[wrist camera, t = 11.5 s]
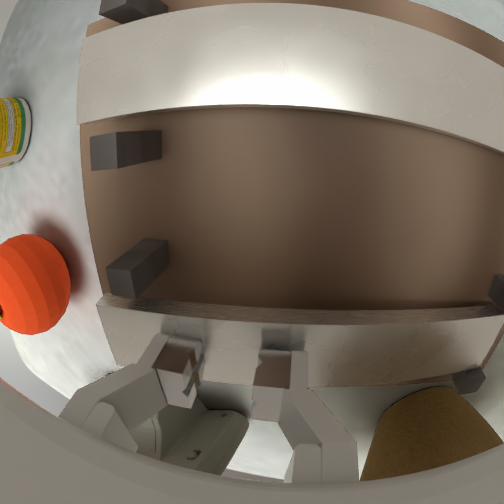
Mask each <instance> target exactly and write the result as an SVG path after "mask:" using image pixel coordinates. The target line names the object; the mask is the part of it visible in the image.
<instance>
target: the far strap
mask: <svg viewBox="0 0 504 504" xmlns="http://www.w3.org/2000/svg"><path fill="white" fill-rule="evenodd" d="M96 307H97V310H98V313H99V316H100V319H101V322H102V325H103V328H104V331H105V334H106V337H107V340H108V343H109V345H110V348H111V351H112V353H113V356H114V359H115V361H116V364H117V365H121V366H128V365H130V364H132V363H134V364H137V362H138V360H139V359H140V357H141V356H142V354H143V353H144V351H145V350H146V348H147V346H148V345H149V343H150V342H151V340H152V339H153V337H154V336H155V335H156V334H157V333H162V334H166V335H171V336H172V335H173V336H177V337H183V338H188V339H193V340H199V341H200V342H201V345H202V351H201V354H200V355H201V357H202V358H203V359H204V373H203V378H202V380H204V381H212V382H221V383H231V384H242V385H253V382H254V376H255V371H256V368H257V367H258V355H259V350H260V348H264V349H276V350H290V351H307V352H308V387H340V386H359V385H372V384H383V383H393V382H401V381H409V380H416V379H423V378H429V377H435V376H440V375H446V374H451V373H455V372H460V371H465V370H469V369H473V368H477V367H480V365H481V364H482V362H483V360H484V359H485V357H486V355H487V354H488V352H489V350H490V348H491V346H492V345H493V343H494V341H495V339H496V337H497V335H498V333H499V331H500V329H501V327H502V325H503V323H504V314H503V312H502V311H501V310H500V309H499V307H498V306H497V305H485V306H473V307H458V308H439V309H414V310H309V309H281V308H261V307H244V306H229V305H216V304H204V303H192V302H181V301H171V300H162V299H153V298H144V297H138V298H137V299H136V300H134V299H129V298H124V297H119V296H115V295H112V294H111V293H106V294H105V295H104V296H103V297H102V298H101V299H100V300H99V301H98V302H97V303H96Z"/></svg>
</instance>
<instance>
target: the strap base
mask: <svg viewBox="0 0 504 504" xmlns="http://www.w3.org/2000/svg"><path fill="white" fill-rule="evenodd" d="M240 3H292V4H307V5H317V6H326V7H333V8H340V9H346V10H352V11H357V12H362V13H367V14H372V15H376V16H380V17H384V18H388V19H392V20H395V21H399V22H402V23H405V24H409V25H412V26H415V27H418V28H421V29H423V30H426V31H429V32H432V33H434V34H437V35H439V36H442V37H444V38H447V39H449V40H451V41H454V42H456V43H458V44H460V45H462V46H465V47H467V48H469V49H471V50H473V51H475V52H477V53H479V54H481V55H482V56H484V57H486V58H488V59H490V60H492V61H493V62H495V63H497V64H499V65H500V66H502V67H504V42H502V41H501V40H499V39H497V38H495V37H494V36H492V35H490V34H488V33H486V32H484V31H483V30H481V29H479V28H477V27H475V26H473V25H470V24H468V23H466V22H464V21H462V20H460V19H457V18H455V17H453V16H450V15H448V14H445V13H443V12H440V11H437V10H435V9H432V8H429V7H426V6H423V5H420V4H417V3H414V2H411V1H407V0H102V1H101V6H100V11H99V15H101V16H104V17H106V18H104V19H101V20H99V21H97V22H94V23H92V24H90V25H88V27H87V33H86V37H89V36H91V35H94V34H97V33H99V32H102V31H105V30H108V29H110V28H113V27H116V26H119V25H123V24H126V23H129V22H133V21H136V20H140V19H144V18H148V17H152V16H156V15H160V14H165V13H169V12H175V11H180V10H186V9H192V8H199V7H206V6H215V5H225V4H240ZM80 149H81V166H82V178H83V188H84V197H85V205H86V212H87V219H88V226H89V232H90V237H91V243H92V248H93V253H94V258H95V263H96V267H97V272H98V276H99V280H100V284H101V288H102V292H103V296H104V295H105V294H106V293H111V294H112V295H115V296H119V297H124V298H129V299H134V300H136V299H137V298H138V297H144V298H153V299H162V300H171V301H181V302H192V303H204V304H216V305H229V306H244V307H261V308H281V309H309V310H414V309H439V308H458V307H473V306H485V305H497V306H498V307H499V309H500V310H501V311H502V312H503V314H504V155H503V154H501V153H498V152H496V151H493V150H490V149H488V148H485V147H482V146H480V145H477V144H474V143H471V142H468V141H465V140H462V139H459V138H456V137H452V136H449V135H446V134H442V133H439V132H435V131H431V130H427V129H423V128H419V127H415V126H411V125H407V124H402V123H397V122H392V121H387V120H382V119H377V118H371V117H365V116H358V115H351V114H344V113H336V112H327V111H317V110H305V109H290V108H263V107H232V108H206V109H191V110H179V111H169V112H160V113H152V114H144V115H137V116H131V117H125V118H119V119H114V120H108V121H103V122H98V123H94V124H80ZM503 333H504V323H503V325H502V327H501V329H500V331H499V333H498V335H497V337H496V339H495V341H494V343H493V345H492V346H491V348H490V350H489V352H488V354H487V355H486V357H485V359H484V360H483V362H482V364H481V365H480V367H477V368H473V369H469V370H465V371H460V372H455V373H451V374H446V375H440V376H435V377H429V378H423V379H416V380H409V381H401V382H393V383H383V384H372V385H400V384H419V383H432V382H442V381H452V380H453V381H454V383H455V385H456V388H457V390H458V393H459V395H460V394H466V393H472V392H476V391H477V390H478V388H479V387H480V386H481V384H482V383H483V381H484V380H485V378H486V377H485V375H484V373H483V371H482V370H483V368H484V367H485V365H486V363H487V362H488V360H489V358H490V357H491V355H492V353H493V351H494V350H495V348H496V346H497V344H498V342H499V341H500V339H501V337H502V335H503Z"/></svg>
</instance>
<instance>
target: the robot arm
mask: <svg viewBox="0 0 504 504" xmlns="http://www.w3.org/2000/svg"><path fill="white" fill-rule="evenodd" d="M201 351H202V345H201V342H200V341H199V340H193V339H188V338H183V337H177V336H173V335H172V336H171V335H166V334H162V333H157V334H156V335H155V336H154V337H153V339H152V340H151V342H150V343H149V345H148V346H147V348H146V350H145V351H144V353H143V354H142V356H141V357H140V359H139V360H138V362H137V364H134V363H132V364H130V365H128V366H126V367H124V368H122V369H120V370H118V371H116V372H114V373H112V374H110V375H108V376H105V377H103V378H101V379H99V380H97V381H95V382H93V383H91V384H89V385H87V386H84V387H82V388H80V389H78V390H77V391H76V392H75V394H74V395H73V397H72V398H71V399H70V401H69V402H68V404H67V405H66V406H65V408H64V409H63V411H62V412H61V414H60V415H59V417H58V416H56V415H55V414H53V413H51V412H49V411H48V410H46V409H44V408H43V407H41V406H40V405H38V404H37V403H35V402H33V401H32V400H30V399H29V398H27V397H26V396H25V395H23V394H22V393H20V392H19V391H17V390H16V389H15V388H13V387H12V386H11V385H9V384H8V383H7V382H5V381H4V380H3V379H1V378H0V504H504V444H501V445H499V446H497V447H495V448H492V449H490V450H487V451H485V452H482V453H480V454H477V455H475V456H472V457H469V458H466V459H463V460H460V461H457V462H454V463H451V464H448V465H444V466H441V467H437V468H433V469H430V470H425V471H421V472H417V473H412V474H407V475H402V476H397V477H391V478H384V479H377V480H369V481H359V471H358V455H357V443H356V441H355V440H354V439H353V438H352V436H351V435H350V434H349V433H348V432H347V431H346V429H345V428H344V427H343V426H342V425H341V424H340V422H339V421H338V420H337V419H336V418H335V416H334V415H333V414H332V413H331V412H330V411H329V409H328V408H327V407H326V406H325V404H324V403H323V402H322V401H321V400H320V398H319V397H318V396H317V395H316V394H315V392H314V391H308V352H307V351H290V350H276V349H264V348H260V350H259V355H258V367H257V368H256V371H255V376H254V382H253V394H252V399H253V405H252V419H256V420H264V421H272V422H278V424H279V426H280V427H281V429H282V431H283V433H284V435H285V436H286V438H287V440H288V442H289V443H290V445H291V447H292V449H293V450H294V452H293V455H292V458H291V460H290V463H289V466H288V469H287V471H286V474H285V477H284V483H278V482H265V481H255V480H247V479H240V478H233V477H227V476H221V475H216V474H211V473H206V472H201V471H197V470H193V469H189V468H185V467H181V466H177V465H173V464H170V463H166V462H163V461H160V460H157V459H153V458H150V457H147V456H144V455H142V454H139V453H136V451H137V449H138V445H137V443H136V441H135V440H134V438H133V437H132V436H131V434H130V432H131V431H133V430H134V429H136V428H137V427H138V426H140V425H141V424H143V423H144V422H145V421H147V420H148V419H149V418H151V417H152V416H153V415H155V414H156V413H157V412H159V411H160V410H161V409H163V408H164V407H165V406H167V404H170V405H175V406H180V407H184V408H190V409H191V408H192V405H193V402H194V400H195V397H196V395H197V393H196V388H195V387H197V386H198V385H200V384H201V381H202V378H203V373H204V359H203V358H202V357H201V355H200V354H201Z"/></svg>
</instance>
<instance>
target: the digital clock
mask: <svg viewBox="0 0 504 504" xmlns="http://www.w3.org/2000/svg"><path fill="white" fill-rule="evenodd" d="M108 375H110V374H107V375H106V376H108ZM248 427H249V422H248V420H247V419H246V417H245V416H244V415H242V414H240V413H238V412H236V411H232V410H208V409H207V408H206V406H205V405H204V404H203V403H202V401H201V400H200V399H199V398H198V396H197V395H196V397H195V400H194V402H193V405H192V408H191V409H190V408H184V407H180V406H175V405H170V404H167V406H165V407H164V408H163V409H161V410H160V411H159V412H157V413H156V414H155V415H153V416H152V417H151V418H149V419H148V420H147V421H145V422H144V423H143V424H141V425H140V426H138V427H137V428H136V429H134V430H133V431H131V432H130V434H131V436H132V437H133V438H134V440H135V441H136V443H137V445H138V449H137V451H136V453H139V454H142V455H144V456H147V457H150V458H153V459H157V460H160V461H163V462H166V463H170V464H173V465H177V466H181V467H185V468H189V469H193V470H197V471H201V472H206V473H211V474H216V475H222V474H223V472H224V470H225V469H226V467H227V465H228V464H229V462H230V460H231V459H232V457H233V455H234V453H235V452H236V450H237V448H238V446H239V445H240V443H241V441H242V439H243V437H244V436H245V434H246V431H247V429H248Z"/></svg>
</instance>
